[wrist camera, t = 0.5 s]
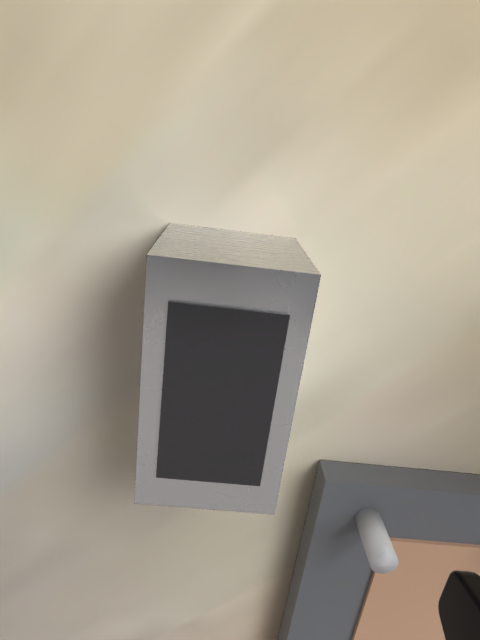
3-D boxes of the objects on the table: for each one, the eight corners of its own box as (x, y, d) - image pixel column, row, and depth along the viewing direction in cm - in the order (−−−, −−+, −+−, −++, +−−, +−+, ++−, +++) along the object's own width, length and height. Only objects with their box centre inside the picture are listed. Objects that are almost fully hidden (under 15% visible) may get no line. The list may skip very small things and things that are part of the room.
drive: (295, 237, 18) (321, 275, 13) (263, 425, 21) (274, 516, 16) (170, 222, 18) (146, 255, 13) (157, 415, 21) (133, 505, 16)
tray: (572, 483, 23) (639, 550, 19) (473, 683, 29) (509, 765, 25) (319, 459, 22) (338, 524, 18) (270, 671, 28) (276, 753, 24)
